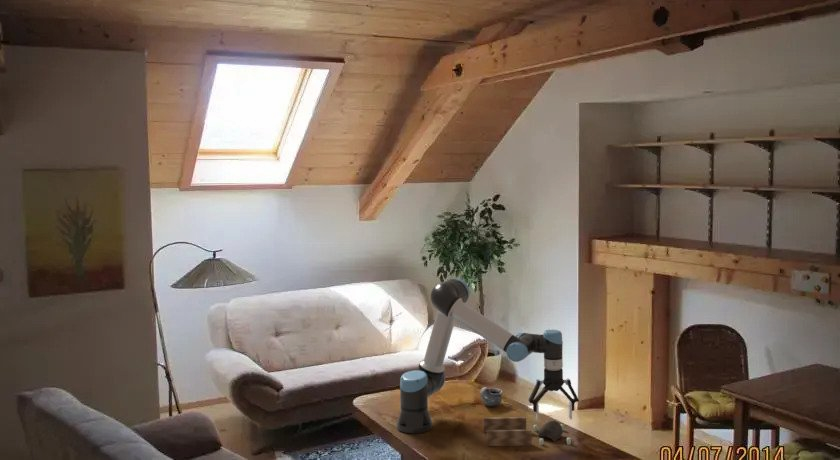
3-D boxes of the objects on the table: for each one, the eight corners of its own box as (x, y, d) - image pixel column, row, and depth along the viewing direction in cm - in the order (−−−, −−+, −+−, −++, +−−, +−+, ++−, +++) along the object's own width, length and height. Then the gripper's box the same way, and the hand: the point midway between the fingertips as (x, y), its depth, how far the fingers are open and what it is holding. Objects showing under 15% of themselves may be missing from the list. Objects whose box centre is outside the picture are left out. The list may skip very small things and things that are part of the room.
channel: (486, 446, 301) (486, 431, 300) (483, 431, 317) (483, 417, 316) (531, 445, 301) (531, 430, 300) (525, 430, 317) (525, 416, 316)
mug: (505, 404, 351) (505, 383, 350) (493, 412, 340) (493, 390, 339) (487, 400, 356) (487, 380, 355) (474, 408, 345) (474, 387, 344)
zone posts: (539, 445, 301) (539, 439, 301) (533, 430, 317) (533, 424, 317) (571, 444, 301) (571, 439, 301) (563, 429, 317) (563, 424, 317)
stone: (540, 449, 306) (555, 437, 301) (531, 431, 311) (546, 418, 305) (556, 447, 312) (571, 435, 307) (546, 428, 317) (561, 416, 311)
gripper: (524, 371, 302) (524, 422, 304) (585, 369, 302) (586, 421, 304) (521, 366, 310) (522, 416, 312) (581, 364, 310) (582, 414, 312)
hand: (553, 418), depth 308 cm, fingers open, 13 cm apart
